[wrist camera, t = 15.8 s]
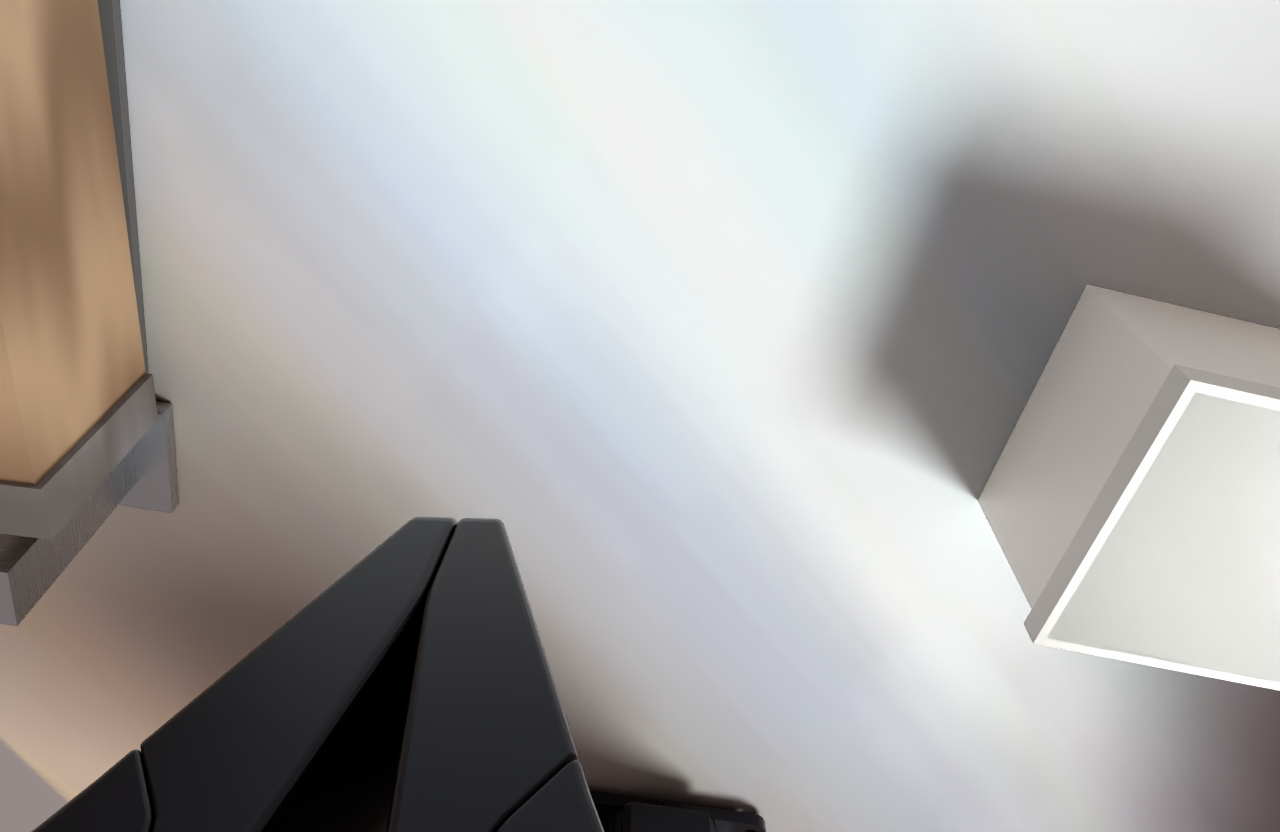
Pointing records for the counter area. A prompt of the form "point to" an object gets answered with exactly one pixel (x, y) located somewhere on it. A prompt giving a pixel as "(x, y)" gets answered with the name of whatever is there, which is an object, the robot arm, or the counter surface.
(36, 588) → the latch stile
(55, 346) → the gate
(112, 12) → the strip
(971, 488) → the counter surface
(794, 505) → the counter surface
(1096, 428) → the base block
